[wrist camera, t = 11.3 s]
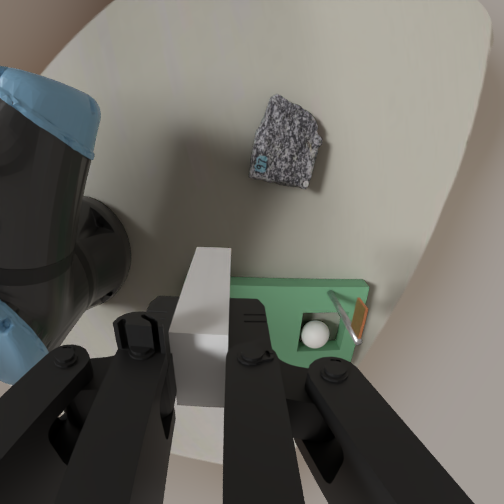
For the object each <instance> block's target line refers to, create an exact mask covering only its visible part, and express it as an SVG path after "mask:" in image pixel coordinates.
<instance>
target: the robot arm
mask: <svg viewBox="0 0 504 504" xmlns="http://www.w3.org/2000/svg"><path fill="white" fill-rule="evenodd" d="M100 118H101V113H100V108H99V106H98V104H97V102H96V101H95V100H94V99H93V98H92V97H91V96H89V95H88V94H86V93H84V92H82V91H80V90H77V89H75V88H73V87H71V86H68V85H66V84H63V83H60V82H58V81H55V80H52V79H49V78H46V77H44V76H41V75H37V74H34V73H31V72H27V71H24V70H20V69H15V68H8V67H4V66H0V381H2V382H5V383H7V384H11V385H13V386H12V387H11V388H10V389H9V390H8V391H7V392H6V393H4V394H3V396H1V398H0V504H163V498H164V491H165V484H166V476H167V470H168V463H169V456H170V450H171V443H172V437H173V431H174V425H175V419H176V418H175V410H174V403H175V398H177V405H186V406H202V407H224V446H223V504H305V501H304V496H303V490H302V485H301V479H300V474H299V468H298V463H297V457H296V451H295V446H294V440H295V443H296V445H297V446H298V448H299V450H300V452H301V454H302V456H303V458H304V460H305V462H306V463H307V465H308V467H309V469H310V471H311V473H312V475H313V476H314V478H315V480H316V482H317V484H318V486H319V487H320V489H321V491H322V493H323V495H324V496H325V498H326V500H327V502H328V504H474V503H473V502H472V500H471V499H470V498H469V497H468V496H467V495H466V493H465V492H464V491H463V490H462V489H461V488H460V486H459V485H458V484H457V483H456V482H455V481H454V480H453V478H452V477H451V476H450V475H449V474H448V473H447V471H446V470H445V469H444V468H443V467H442V466H441V464H440V463H439V462H438V461H437V460H436V459H435V457H434V456H433V455H432V454H431V453H430V452H429V450H428V449H427V448H426V447H425V446H424V445H423V443H422V442H421V441H420V440H419V439H418V438H417V436H416V435H415V434H414V433H413V432H412V431H411V430H410V428H409V427H408V426H407V425H406V424H405V423H404V422H403V420H402V419H401V418H400V417H399V416H398V415H397V413H396V412H395V411H394V410H393V409H392V408H391V406H390V405H389V404H388V403H387V402H386V401H385V400H384V398H383V397H382V396H381V395H380V394H379V393H378V391H377V390H376V389H375V388H374V387H373V386H372V385H371V383H370V382H369V381H368V380H367V379H366V378H365V377H364V375H363V374H362V373H361V372H360V371H359V369H358V368H357V367H356V366H355V365H353V364H352V363H351V362H349V361H347V360H345V359H342V358H338V357H322V358H319V359H316V360H314V361H313V362H312V363H311V364H310V365H309V368H304V367H299V366H294V365H291V364H288V363H286V362H283V361H282V360H280V359H279V358H278V356H277V354H276V352H275V351H274V350H273V349H272V346H271V340H270V334H269V328H268V323H267V317H266V311H265V306H264V305H263V304H262V303H261V302H260V301H259V300H258V299H251V298H230V269H231V248H216V247H197V248H196V251H195V254H194V257H193V260H192V262H191V265H190V268H189V271H188V274H187V277H186V280H185V283H184V286H183V289H182V292H181V295H180V297H171V296H159V297H157V298H156V299H154V300H153V301H152V302H151V303H150V305H149V307H148V309H147V312H132V313H128V314H124V315H122V316H120V317H118V318H117V319H116V320H115V321H114V322H113V327H114V332H115V337H116V342H117V346H118V350H117V352H116V354H115V355H114V356H110V357H103V358H92V359H90V357H89V354H88V352H87V351H86V349H84V348H82V347H81V346H77V345H63V346H60V345H61V344H62V342H63V341H64V339H65V338H66V336H67V335H68V334H69V332H70V331H71V330H72V328H73V327H74V325H75V324H76V323H77V321H78V320H79V319H80V317H81V316H82V315H83V313H84V312H85V311H86V310H88V309H90V308H92V307H95V306H97V305H100V304H102V303H104V302H106V301H107V300H109V299H110V298H111V297H113V296H114V295H115V294H116V292H117V291H118V290H119V288H120V287H121V286H122V284H123V283H124V281H125V279H126V277H127V275H128V272H129V268H130V262H131V252H130V245H129V241H128V237H127V234H126V232H125V230H124V228H123V226H122V224H121V222H120V221H119V219H118V218H117V217H116V215H115V214H114V213H113V212H112V211H111V210H110V209H109V208H108V207H106V206H105V205H104V204H102V203H101V202H99V201H97V200H95V199H93V198H90V197H86V196H83V194H84V189H85V185H86V180H87V176H88V172H89V168H90V164H91V160H93V159H94V153H93V150H94V145H95V141H96V136H97V131H98V127H99V123H100ZM59 346H60V347H59ZM63 410H64V412H65V413H64V414H63V415H62V416H61V417H59V418H58V416H59V415H60V414H61V413H62V412H63ZM293 438H294V440H293Z"/></svg>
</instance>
